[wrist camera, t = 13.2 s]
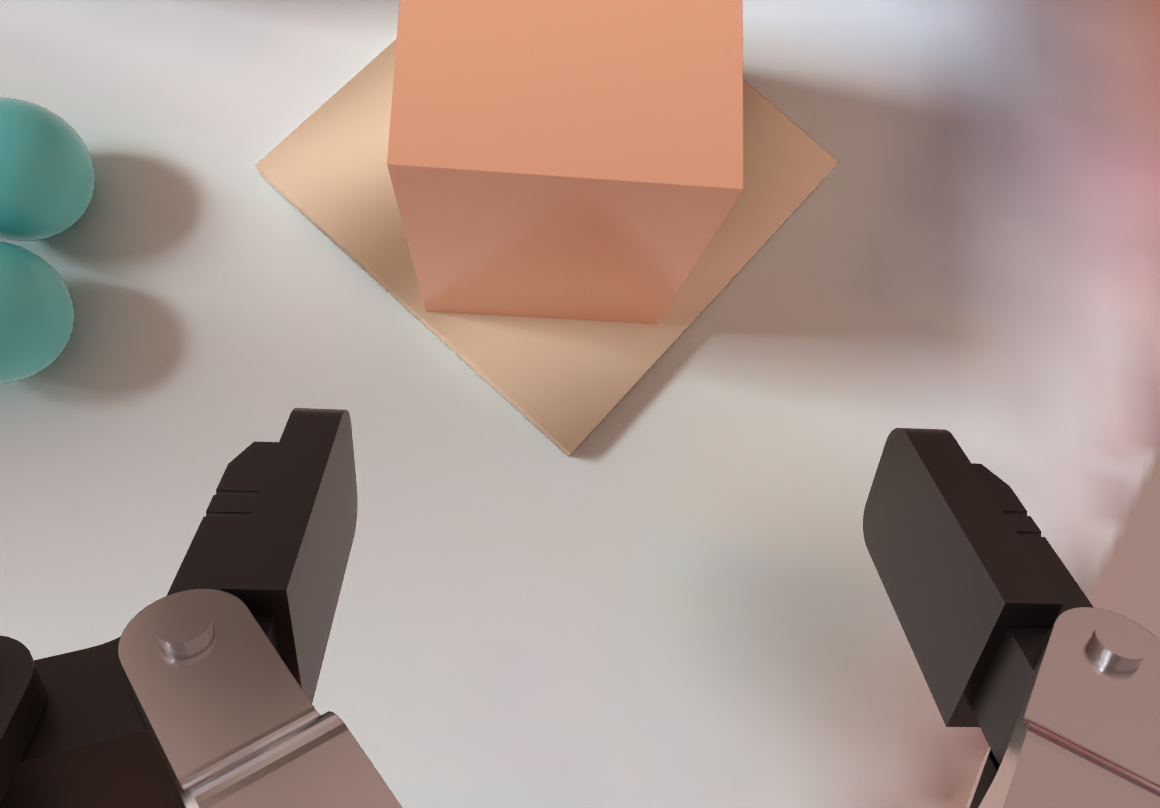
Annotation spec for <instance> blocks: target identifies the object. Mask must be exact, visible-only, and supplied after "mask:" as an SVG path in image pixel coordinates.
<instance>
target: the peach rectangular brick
mask: <svg viewBox="0 0 1160 808" xmlns="http://www.w3.org/2000/svg"><path fill="white" fill-rule="evenodd" d="M387 166H388V170H389V174H390V178H391V181H392V185H393V189H394V193H395V197H396V200H397V204H398V208H399V212H400V216H401V219H402V223H403V227H404V231H405V234H406V238H407V242H408V246H409V250H410V253H411V257H412V261H413V265H414V269H415V272H416V276H417V280H418V284H419V288H420V291H421V295H422V299H423V303H424V306H425V310H426V311H430V312H448V313H466V314H483V315H501V316H518V317H536V318H554V319H571V320H589V321H606V322H624V323H642V324H657V323H658V322H659V320H660V319H661V317H662V315H663V314H664V312H665V311H666V309H667V308H668V306H669V305H670V303H671V301H672V300H673V298H674V297H675V295H676V294H677V292H678V290H679V289H680V287H681V286H682V284H683V283H684V281H685V279H686V278H687V276H688V275H689V273H690V272H691V270H692V269H693V267H694V265H695V264H696V262H697V261H698V259H699V258H700V256H701V254H702V253H703V251H704V250H705V248H706V247H707V245H708V243H709V242H710V240H711V239H712V237H713V236H714V234H715V233H716V231H717V229H718V228H719V226H720V225H721V223H722V222H723V220H724V218H725V217H726V215H727V214H728V212H729V211H730V209H731V208H732V206H733V204H734V203H735V201H736V200H737V198H738V197H739V195H740V193H741V192H742V190H743V22H742V0H400V5H399V17H398V30H397V43H396V55H395V68H394V81H393V93H392V106H391V119H390V131H389V144H388V157H387Z"/></svg>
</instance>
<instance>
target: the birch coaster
mask: <svg viewBox="0 0 1160 808" xmlns="http://www.w3.org/2000/svg"><path fill="white" fill-rule="evenodd" d="M396 43H397V39H396V40H395V41H394V42H393V43H391V44H390V45H389V46H388V47H387V48H386V49H385V50H384V51H383V52H381V53H380V54H379V55H378V56H377V57H376V58H375V59H374V60H372V61H371V62H370V63H369V64H368V65H367V66H366V67H365V68H364V69H362V70H361V71H360V72H359V73H358V74H357V75H356V76H355V77H354V78H352V79H351V80H350V81H349V82H348V83H347V84H346V85H345V86H343V87H342V88H341V89H340V90H339V91H338V92H337V93H336V94H335V95H333V96H332V97H331V98H330V99H329V100H328V101H327V102H326V103H324V104H323V105H322V106H321V107H320V108H319V109H318V110H317V111H316V112H314V113H313V114H312V115H311V116H310V117H309V118H308V119H307V120H306V121H304V122H303V123H302V124H301V125H300V126H299V127H298V128H297V129H295V130H294V131H293V132H292V133H291V134H290V135H289V136H288V137H287V138H285V139H284V140H283V141H282V142H281V143H280V144H279V145H278V146H277V147H275V148H274V149H273V150H272V151H271V152H270V153H269V154H268V155H266V156H265V157H264V158H263V159H262V160H261V161H260V162H259V163H258V164H256V165H255V166H256V168H257V169H258V171H259V173H260V174H261V176H262V177H263V178H264V179H265V180H266V181H267V182H268V183H269V184H270V185H271V186H273V187H274V188H275V189H276V190H277V191H278V192H279V193H280V194H281V195H282V196H284V197H285V198H286V199H287V200H288V201H289V202H290V203H291V204H292V205H293V206H295V207H296V208H297V209H298V210H299V211H300V212H301V213H302V214H303V215H304V216H305V217H307V218H308V219H309V220H310V221H311V222H312V223H313V224H314V225H315V226H316V227H318V228H319V229H320V230H321V231H322V232H323V233H324V234H325V235H326V236H327V237H329V238H330V239H331V240H332V241H333V242H334V243H335V244H336V245H337V246H338V247H340V248H341V249H342V250H343V251H344V252H345V253H346V254H347V255H348V256H349V257H350V258H352V259H353V260H354V261H355V262H356V263H357V264H358V265H359V266H360V267H361V268H363V269H364V270H365V271H366V272H367V273H368V274H369V275H370V276H371V277H372V278H374V279H375V280H376V281H377V282H378V283H379V284H380V285H381V286H382V287H383V288H384V289H386V290H387V291H388V292H389V293H390V294H391V295H392V296H393V297H394V298H395V299H397V300H398V301H399V302H400V303H401V304H402V305H403V306H404V307H405V308H406V309H408V310H409V311H410V312H411V313H412V314H413V315H414V316H415V317H416V318H417V319H419V320H420V321H421V322H422V323H423V324H424V325H425V326H426V327H427V328H428V329H429V330H431V331H432V332H433V333H434V334H435V335H436V336H437V337H438V338H439V339H440V340H442V341H443V342H444V343H445V344H446V345H447V346H448V347H449V348H450V349H451V350H453V351H454V352H455V353H456V354H457V355H458V356H459V357H460V358H461V359H462V360H463V361H465V362H466V363H467V364H468V365H469V366H470V367H471V368H472V369H473V370H474V371H476V372H477V373H478V374H479V375H480V376H481V377H482V378H483V379H484V380H485V381H487V382H488V383H489V384H490V385H491V386H492V387H493V388H494V389H495V390H496V391H498V392H499V393H500V394H501V395H502V396H503V397H504V398H505V399H506V400H507V401H508V402H510V403H511V404H512V405H513V406H514V407H515V408H516V409H517V410H518V411H519V412H521V413H522V414H523V415H524V416H525V417H526V418H527V419H528V420H529V421H530V422H532V423H533V424H534V425H535V426H536V427H537V428H538V429H539V430H540V431H541V432H542V433H544V434H545V435H546V436H547V437H548V438H549V439H550V440H551V441H552V442H553V443H555V444H556V445H557V446H558V447H559V448H560V449H561V450H562V451H563V452H564V453H566V454H567V455H568V456H570V455H571V454H572V453H573V452H574V451H575V450H576V449H577V447H578V446H579V445H580V444H581V443H582V442H583V441H584V440H585V439H586V438H587V437H588V435H589V434H590V433H591V432H592V431H593V430H594V429H595V428H596V427H597V426H598V425H599V423H600V422H601V421H602V420H603V419H604V418H605V417H606V416H607V415H608V414H609V413H610V411H611V410H612V409H613V408H614V407H615V406H616V405H617V404H618V403H619V402H620V401H621V399H622V398H623V397H624V396H625V395H626V394H627V393H628V392H629V391H630V390H631V389H632V387H633V386H634V385H635V384H636V383H637V382H638V381H639V380H640V379H641V378H642V377H643V375H644V374H645V373H646V372H647V371H648V370H649V369H650V368H651V367H652V366H653V365H654V363H655V362H656V361H657V360H658V359H659V358H660V357H661V356H662V355H663V354H664V353H665V351H666V350H667V349H668V348H669V347H670V346H671V345H672V344H673V343H674V342H675V341H676V339H677V338H678V337H679V336H680V335H681V334H682V333H683V332H684V331H685V330H686V329H687V327H688V326H689V325H690V324H691V323H692V322H693V321H694V320H695V319H696V318H697V317H698V315H699V314H700V313H701V312H702V311H703V310H704V309H705V308H706V307H707V306H708V305H709V303H710V302H711V301H712V300H713V299H714V298H715V297H716V296H717V295H718V294H719V293H720V291H721V290H722V289H723V288H724V287H725V286H726V285H727V284H728V283H729V282H730V281H731V279H732V278H733V277H734V276H735V275H736V274H737V273H738V272H739V271H740V270H741V269H742V267H743V266H744V265H745V264H746V263H747V262H748V261H749V260H750V259H751V258H752V257H753V255H754V254H755V253H756V252H757V251H758V250H759V249H760V248H761V247H762V246H763V245H764V243H765V242H766V241H767V240H768V239H769V238H770V237H771V236H772V235H773V234H774V233H775V231H776V230H777V229H778V228H779V227H780V226H781V225H782V224H783V223H784V222H785V221H786V219H787V218H788V217H789V216H790V215H791V214H792V213H793V212H794V211H795V210H796V209H797V207H798V206H799V205H800V204H801V203H802V202H803V201H804V200H805V199H806V198H807V197H808V195H809V194H810V193H811V192H812V191H813V190H814V189H815V188H816V187H817V186H818V185H819V183H820V182H821V181H822V180H823V179H824V178H825V177H826V176H827V175H828V174H829V173H830V171H831V170H832V169H833V168H834V167H835V165H836V164H837V163H838V161H837V160H836V159H835V158H834V157H832V156H831V155H830V154H829V153H828V152H827V151H825V150H824V149H823V148H822V147H821V146H820V145H818V144H817V143H816V142H815V141H814V140H813V139H811V138H810V137H809V136H808V135H807V134H806V133H805V132H803V131H802V130H801V129H800V128H799V127H798V126H796V125H795V124H794V123H793V122H792V121H791V120H789V119H788V118H787V117H786V116H785V115H784V114H783V113H781V112H780V111H779V110H778V109H777V108H776V107H774V106H773V105H772V104H771V103H770V102H769V101H767V100H766V99H765V98H764V97H763V96H762V95H761V94H759V93H758V92H757V91H756V90H755V89H754V88H752V87H751V86H750V85H749V84H748V83H747V82H745V81H744V80H743V190H742V192H741V193H740V195H739V197H738V198H737V200H736V201H735V203H734V204H733V206H732V208H731V209H730V211H729V212H728V214H727V215H726V217H725V218H724V220H723V222H722V223H721V225H720V226H719V228H718V229H717V231H716V233H715V234H714V236H713V237H712V239H711V240H710V242H709V243H708V245H707V247H706V248H705V250H704V251H703V253H702V254H701V256H700V258H699V259H698V261H697V262H696V264H695V265H694V267H693V269H692V270H691V272H690V273H689V275H688V276H687V278H686V279H685V281H684V283H683V284H682V286H681V287H680V289H679V290H678V292H677V294H676V295H675V297H674V298H673V300H672V301H671V303H670V305H669V306H668V308H667V309H666V311H665V312H664V314H663V315H662V317H661V319H660V320H659V322H658V323H657V324H642V323H624V322H606V321H589V320H571V319H554V318H536V317H518V316H501V315H483V314H466V313H448V312H430V311H426V310H425V306H424V303H423V299H422V295H421V291H420V288H419V284H418V280H417V276H416V272H415V269H414V265H413V261H412V257H411V253H410V250H409V246H408V242H407V238H406V234H405V231H404V227H403V223H402V219H401V216H400V212H399V208H398V204H397V200H396V197H395V193H394V189H393V185H392V181H391V178H390V174H389V170H388V166H387V157H388V144H389V131H390V119H391V106H392V93H393V81H394V68H395V55H396Z"/></svg>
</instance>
